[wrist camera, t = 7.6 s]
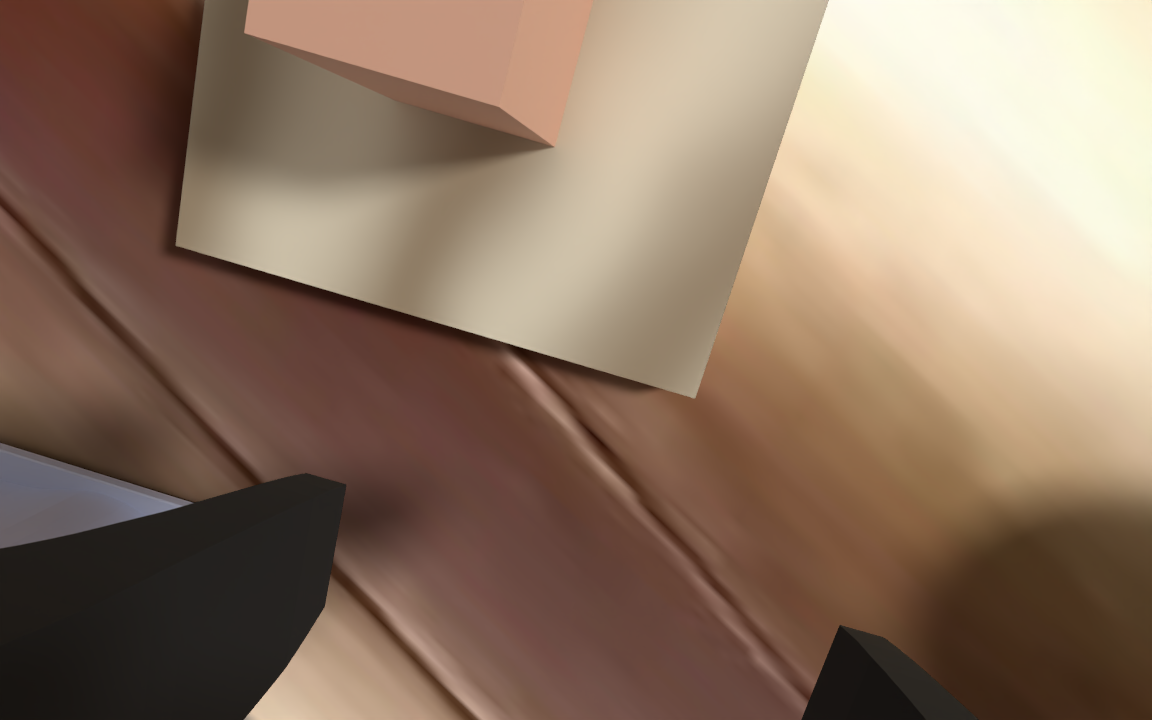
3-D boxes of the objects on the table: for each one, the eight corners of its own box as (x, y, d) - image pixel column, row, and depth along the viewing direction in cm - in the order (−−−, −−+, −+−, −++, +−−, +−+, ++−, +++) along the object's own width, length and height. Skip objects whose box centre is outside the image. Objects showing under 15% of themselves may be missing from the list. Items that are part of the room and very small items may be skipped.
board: (212, 242, 18) (175, 245, 17) (291, -350, 15) (253, -411, 14) (690, 383, 18) (695, 398, 16) (884, -200, 14) (911, -246, 13)
